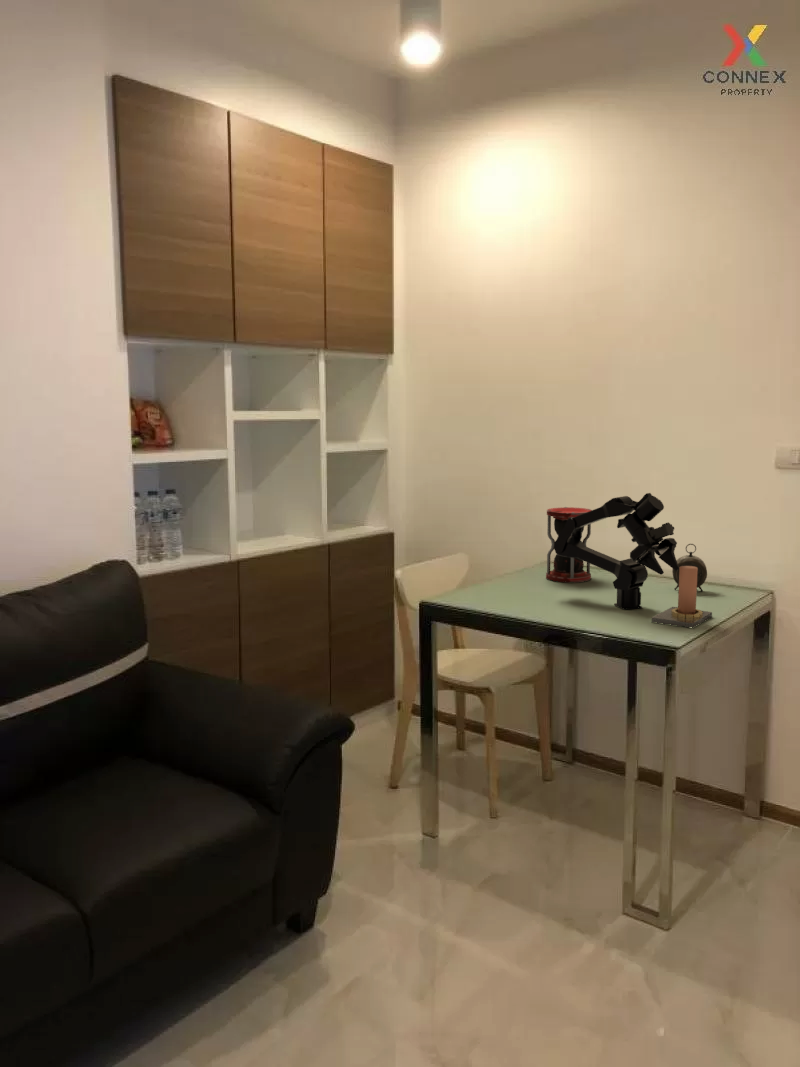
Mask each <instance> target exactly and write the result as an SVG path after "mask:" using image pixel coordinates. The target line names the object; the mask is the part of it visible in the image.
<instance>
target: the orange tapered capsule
mask: <svg viewBox="0 0 800 1067" xmlns="http://www.w3.org/2000/svg"><path fill="white" fill-rule="evenodd" d="M697 571H698V568H697V567H693V566H681V567H680V568H679V587H678V597H677V607H678V613H683V614H696V609H697V590H698V588H697Z"/></svg>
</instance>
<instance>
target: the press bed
mask: <svg viewBox="0 0 800 1067" xmlns="http://www.w3.org/2000/svg"><path fill="white" fill-rule="evenodd" d="M710 617H711V618H713V612H712V611H708V610H707V611H706V610H700V609H698V608H696V614H683V613H678V606H671V607H669V608H667V609H666V610H663V611H662V612H660V613H657V614H656V615H653V616H652V617H651V623H652V622H657V623H656V624H659V623H663V624H662V625H665V624H671V625H670V626H672V625H677V626H676V627H679V626H685V627H692V628H693V627H694V626H696V625H698V624H699V625H701V624H702V622H703V623H704V621H705V620H706V621H708V620H709V618H710ZM711 618H710V619H711ZM707 619H708V620H707ZM706 621H705V622H706ZM700 623H701V624H700ZM699 625H698V626H699ZM685 627H684V628H685ZM696 627H697V626H696ZM692 628H691V629H692ZM694 628H695V627H694ZM694 628H693V629H694Z"/></svg>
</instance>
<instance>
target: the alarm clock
mask: <svg viewBox="0 0 800 1067" xmlns="http://www.w3.org/2000/svg"><path fill="white" fill-rule="evenodd" d="M690 545H691V546H694V551H688V546H690ZM696 551H697V546H696V545H695V544H694V543H688V544H687V545H686V546H685V552H686V553H688V554H686V555H683V556H680V557H679V558H678V559H676V560H677V563H678V566H679V568H680V567H681V566H693V567H697V568H698V571H697V589H699V590H700V592H703V591H704V589H702V587H701V586H703V584H704V583H705V582H706V580H707V577H708V570H707V566H706V563H705V562H704V561H703V560H702V558H700V557H698V556H696V555H693V554H694V553H695V552H696ZM671 573H672V577H673V580H674V581H675V583H676V586H675V587H674V590H675V591H676V590H678V589H679V570H677V571H676V570H674V569H673V568H672V572H671Z"/></svg>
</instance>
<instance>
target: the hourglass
mask: <svg viewBox="0 0 800 1067" xmlns="http://www.w3.org/2000/svg"><path fill="white" fill-rule="evenodd" d="M592 510H593V509H591V508H585V507H571V506H570V507H567V506H565V507H552V508H547V509H546V515H547V537H548V538H549V540H550V543H551V547H550V549H549V550H548V552H547V555H546V572H545V578H546V579H547V580H548V579H549V580H548V581H551V580H553V581H552V582H556V581H558V582H557V583H570V582H574V583H584V581H585V582H588V581H590V580H591V579H592V573H591V564H590V563H588V562H586V570H584V565H585V563H584V561H583V560H581V559H578V558H570V557H564V556H560V555H558V554H556V553H555V554H556V555H555V556H554V558H553V569H552V570H551V554H552V552H553V551H555V549H554V543H555V541H556V540H555V539H554V538H553V536H552V534H551V532H552V524H551V523H552V519H554V522H553V523H554V524H553V525H554V526H553V527H554V528H553V529H554V531H555V532H556V535H557V536H558V535H559V533H560V532H561V531H562V529H563V528H564V527H565V524H566V522H567V520H568V519H569V518H572V517H576V516H579V515H581V514H584V513H587V512H589V511H592ZM591 525H592V524H589V525H587V527H586V528H587V529H586V531H587V534H586V535H585V537H584V538H583V540H582V542H583V544H584V545H585V546H586V547H587V542H588V541H587V540H588V539H589V538H590V536H591V534H592V533H591V532H592V530H591V528H592V526H591ZM584 528H585V526H583V528H582V533H583V532H584ZM571 536H572V535H571Z"/></svg>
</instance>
